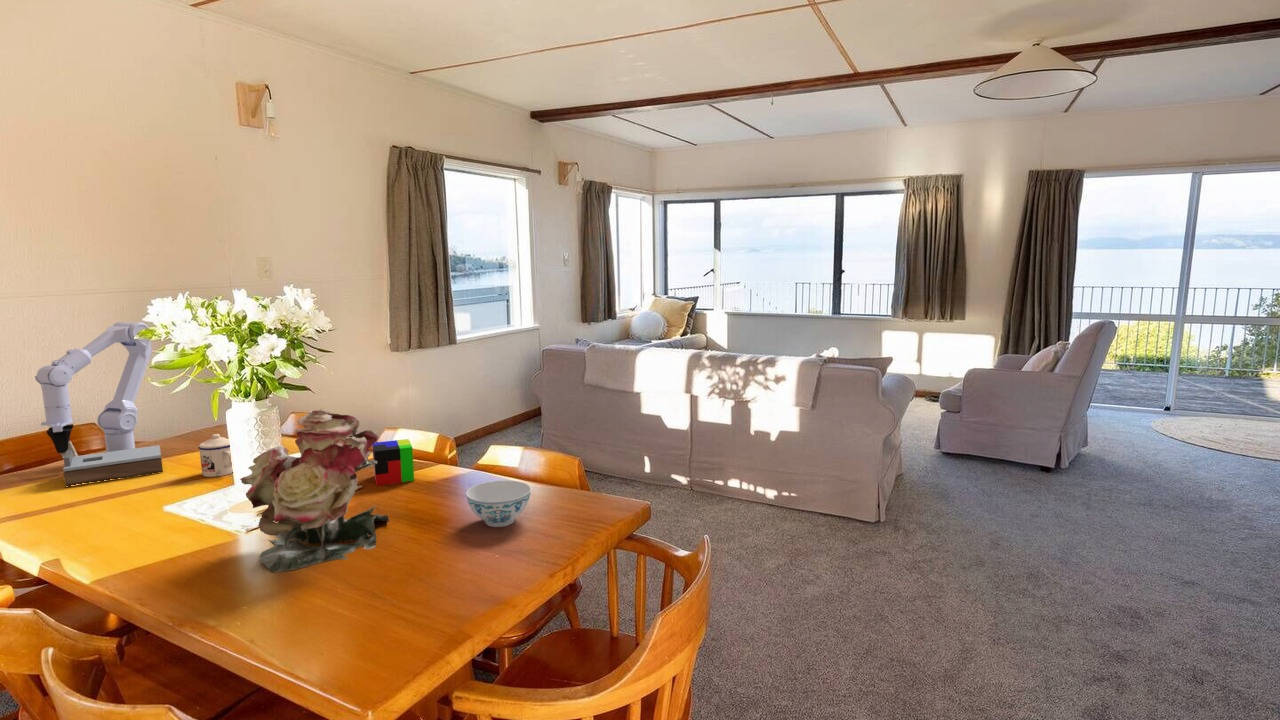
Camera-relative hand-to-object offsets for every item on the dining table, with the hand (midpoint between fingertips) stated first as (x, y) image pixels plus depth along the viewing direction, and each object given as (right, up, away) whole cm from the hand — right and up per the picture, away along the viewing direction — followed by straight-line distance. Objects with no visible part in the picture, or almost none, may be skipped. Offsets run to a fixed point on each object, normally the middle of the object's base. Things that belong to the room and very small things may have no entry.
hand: (63, 451), depth 195 cm
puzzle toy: (+100, -7, -5) cm, 100 cm away
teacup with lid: (+47, -7, 0) cm, 48 cm away
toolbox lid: (+16, -2, 0) cm, 16 cm away
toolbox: (+16, -7, 0) cm, 17 cm away
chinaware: (+137, -12, -38) cm, 143 cm away
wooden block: (+2, -3, +2) cm, 4 cm away
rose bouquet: (+101, -14, -51) cm, 114 cm away
